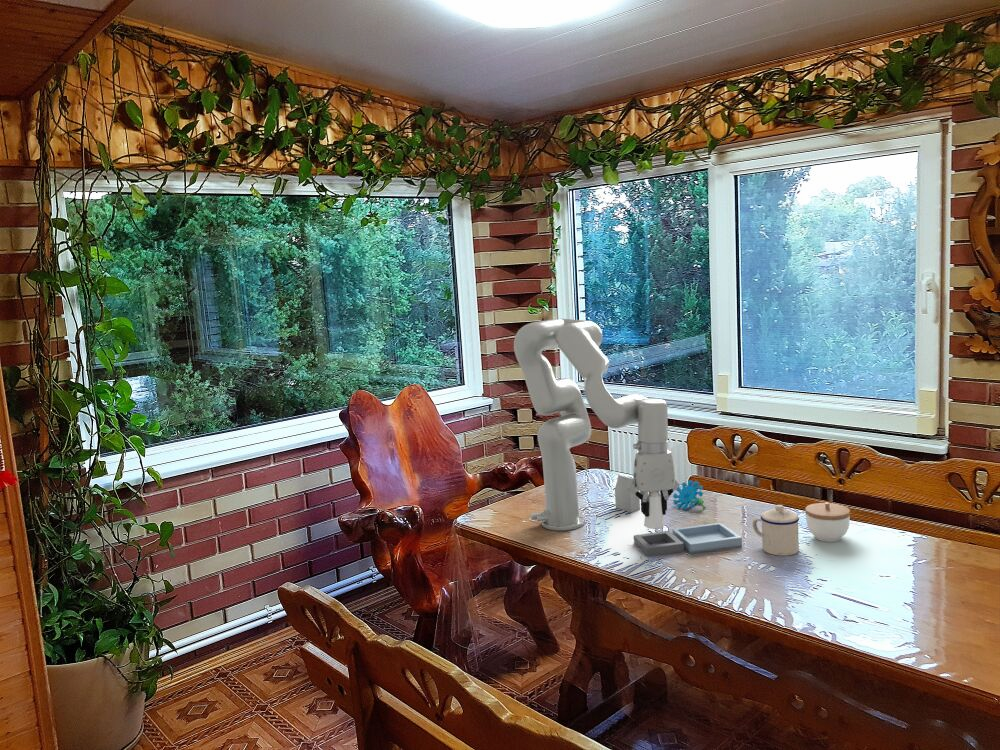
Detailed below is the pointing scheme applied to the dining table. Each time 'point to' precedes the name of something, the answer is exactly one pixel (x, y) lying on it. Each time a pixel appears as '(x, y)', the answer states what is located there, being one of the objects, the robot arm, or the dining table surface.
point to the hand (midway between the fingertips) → (654, 513)
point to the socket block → (671, 547)
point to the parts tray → (707, 537)
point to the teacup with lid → (778, 531)
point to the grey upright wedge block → (626, 495)
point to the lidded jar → (827, 521)
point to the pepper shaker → (654, 511)
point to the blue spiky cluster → (689, 495)
